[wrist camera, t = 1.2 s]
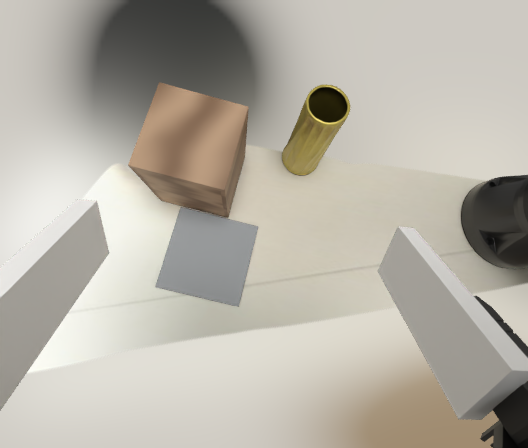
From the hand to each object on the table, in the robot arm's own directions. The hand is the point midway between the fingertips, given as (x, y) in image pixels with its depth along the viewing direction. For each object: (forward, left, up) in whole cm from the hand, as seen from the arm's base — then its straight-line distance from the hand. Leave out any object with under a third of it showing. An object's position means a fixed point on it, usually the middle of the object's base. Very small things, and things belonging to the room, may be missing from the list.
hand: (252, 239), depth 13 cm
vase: (-5, -20, -29) cm, 36 cm away
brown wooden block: (+9, -12, -29) cm, 33 cm away
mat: (+5, -1, -29) cm, 30 cm away
